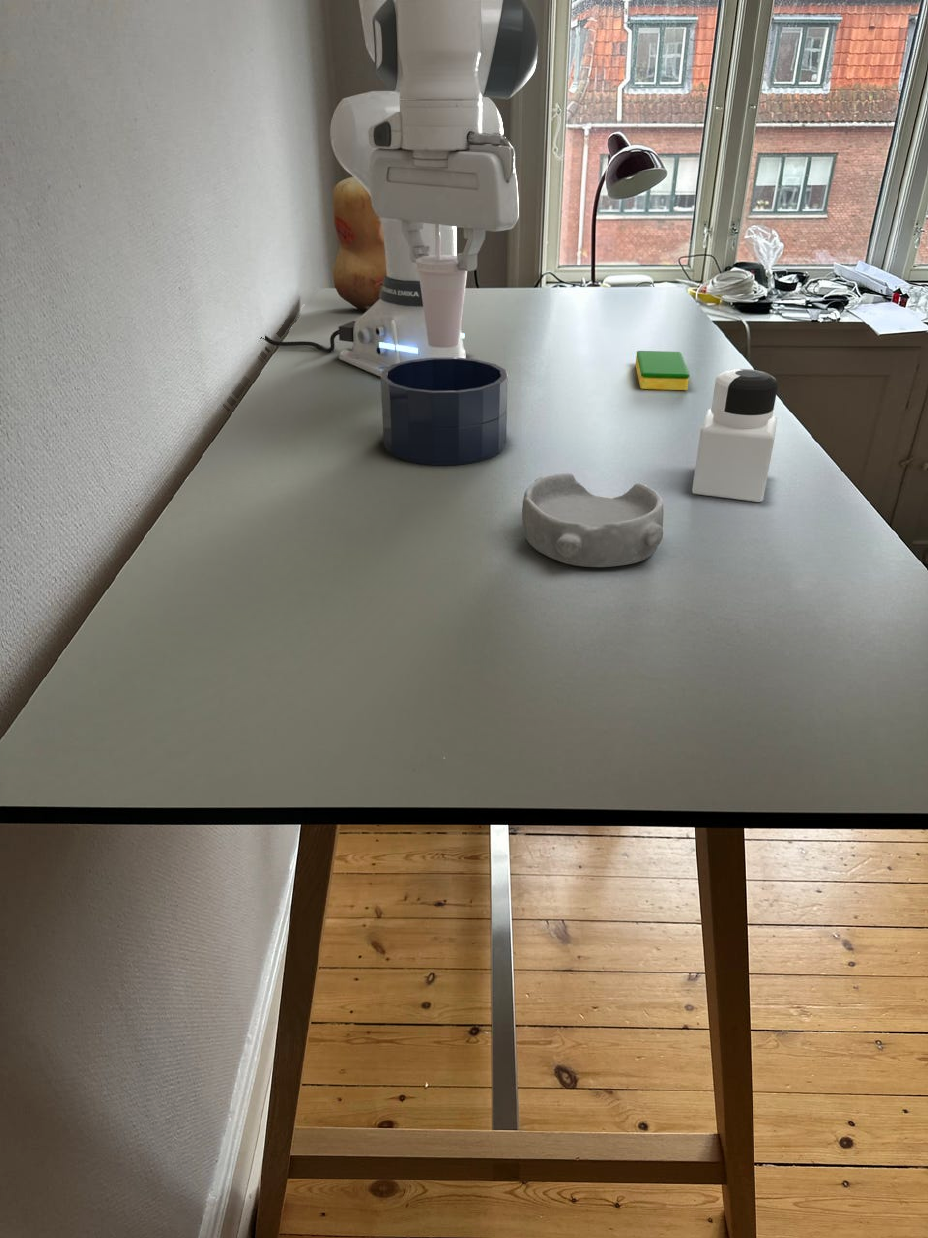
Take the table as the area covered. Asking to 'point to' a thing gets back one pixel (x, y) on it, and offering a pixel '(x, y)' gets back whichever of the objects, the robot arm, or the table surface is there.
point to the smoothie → (442, 296)
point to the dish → (591, 522)
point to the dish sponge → (661, 370)
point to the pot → (444, 410)
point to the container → (737, 437)
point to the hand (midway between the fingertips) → (442, 266)
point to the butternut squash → (357, 245)
